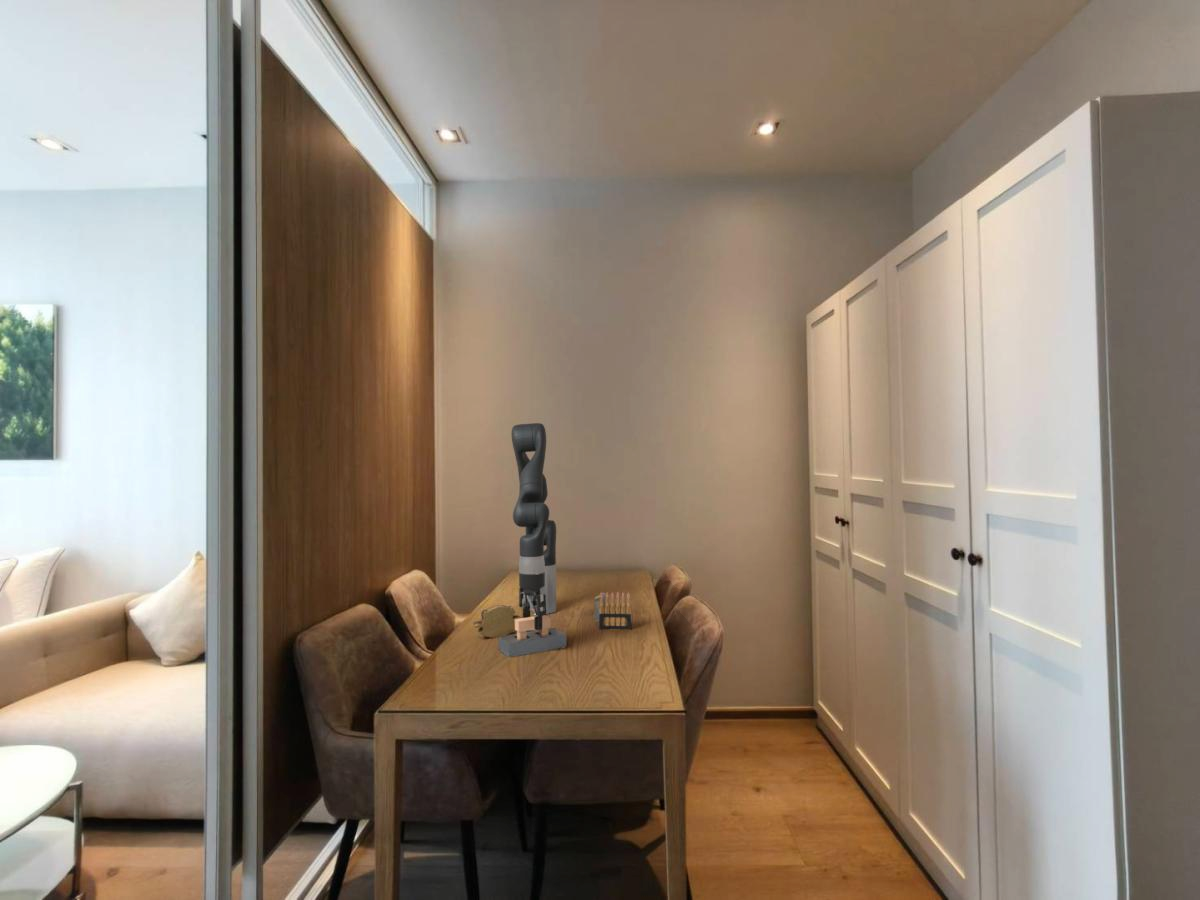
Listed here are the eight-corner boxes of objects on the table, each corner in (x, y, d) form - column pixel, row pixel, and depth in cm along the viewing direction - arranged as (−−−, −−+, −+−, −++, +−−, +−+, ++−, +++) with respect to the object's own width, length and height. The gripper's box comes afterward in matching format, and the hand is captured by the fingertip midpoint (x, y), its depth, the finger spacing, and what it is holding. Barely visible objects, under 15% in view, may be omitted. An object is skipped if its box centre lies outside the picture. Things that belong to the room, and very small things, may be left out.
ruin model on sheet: (603, 622, 219) (602, 594, 219) (594, 622, 219) (594, 593, 219) (609, 614, 230) (609, 587, 230) (601, 614, 230) (600, 587, 230)
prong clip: (515, 646, 186) (514, 619, 187) (546, 641, 191) (545, 614, 192) (519, 649, 184) (518, 621, 184) (550, 644, 189) (550, 616, 189)
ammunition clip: (632, 628, 209) (631, 591, 209) (631, 629, 207) (631, 592, 207) (599, 627, 210) (599, 591, 210) (598, 629, 208) (598, 592, 209)
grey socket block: (498, 650, 187) (498, 636, 187) (554, 640, 196) (554, 627, 196) (509, 657, 180) (508, 643, 180) (566, 647, 189) (566, 633, 189)
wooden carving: (519, 631, 207) (519, 600, 208) (525, 634, 204) (525, 602, 204) (471, 639, 199) (471, 607, 199) (477, 642, 195) (476, 609, 195)
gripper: (510, 568, 192) (511, 622, 192) (529, 575, 180) (530, 633, 180) (533, 566, 196) (534, 619, 196) (554, 573, 184) (554, 629, 183)
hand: (532, 626), depth 188 cm, fingers open, 8 cm apart
